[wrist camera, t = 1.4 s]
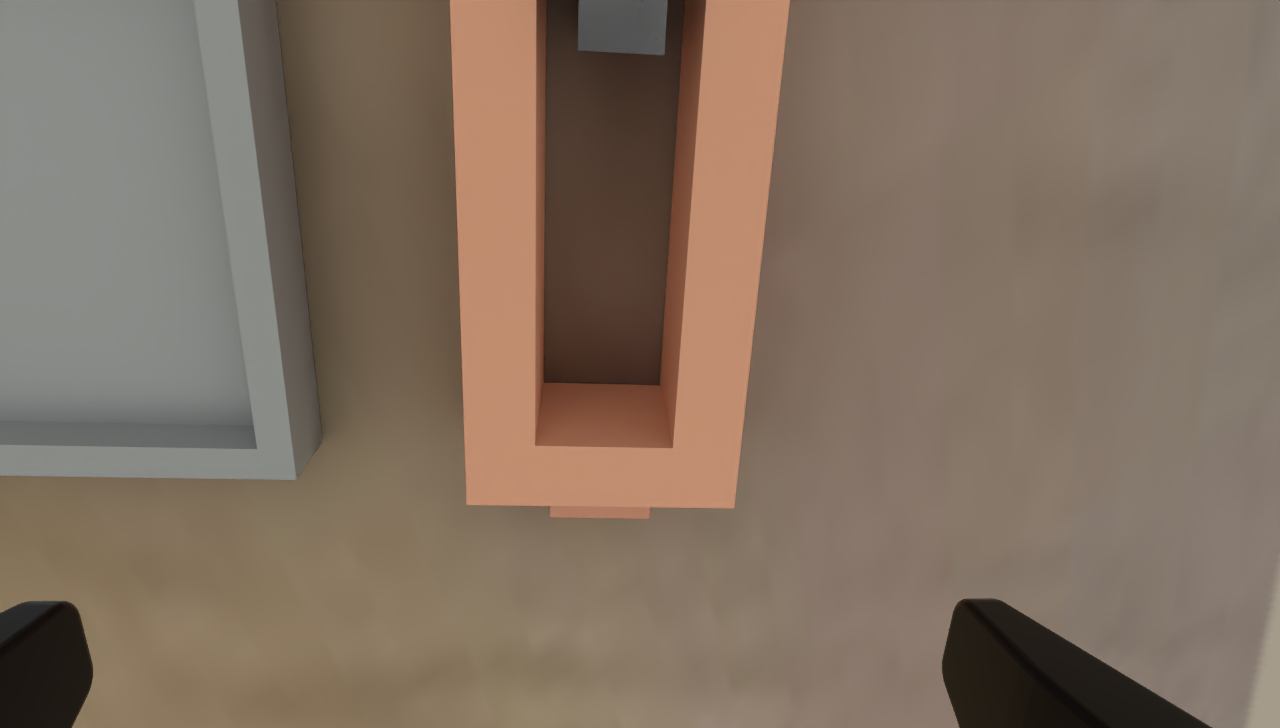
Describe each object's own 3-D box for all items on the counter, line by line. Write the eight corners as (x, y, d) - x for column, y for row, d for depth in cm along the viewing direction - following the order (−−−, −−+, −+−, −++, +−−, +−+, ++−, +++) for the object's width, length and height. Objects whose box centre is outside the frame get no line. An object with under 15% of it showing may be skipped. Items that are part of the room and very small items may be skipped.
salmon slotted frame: (787, -364, 15) (842, -477, 12) (708, 470, 22) (730, 545, 18) (467, -395, 15) (432, -522, 11) (486, 467, 21) (467, 543, 18)
